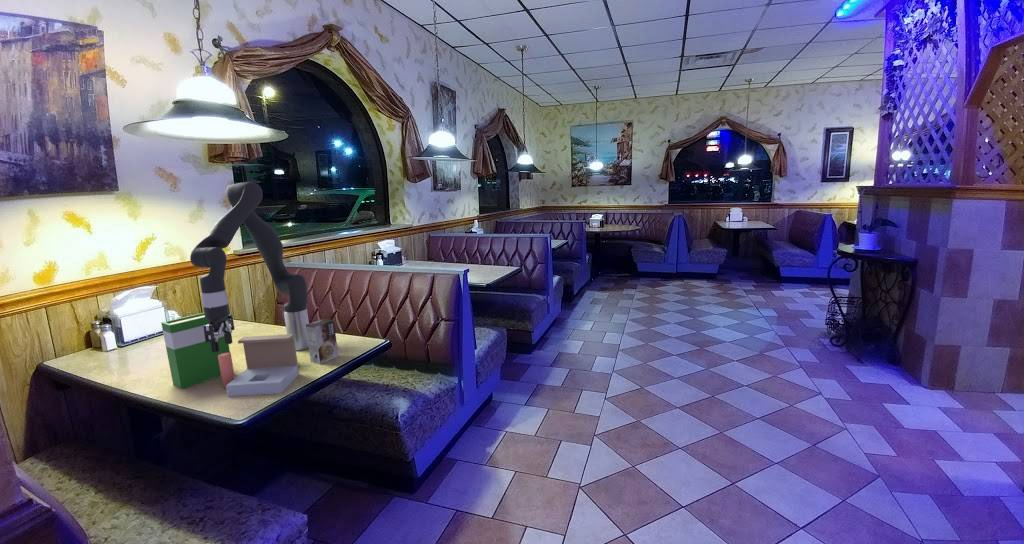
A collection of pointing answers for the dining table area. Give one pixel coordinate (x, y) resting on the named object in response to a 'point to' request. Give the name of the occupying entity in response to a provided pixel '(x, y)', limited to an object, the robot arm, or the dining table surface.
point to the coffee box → (322, 341)
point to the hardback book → (191, 351)
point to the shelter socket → (266, 365)
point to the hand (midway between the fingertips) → (222, 347)
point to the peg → (226, 368)
